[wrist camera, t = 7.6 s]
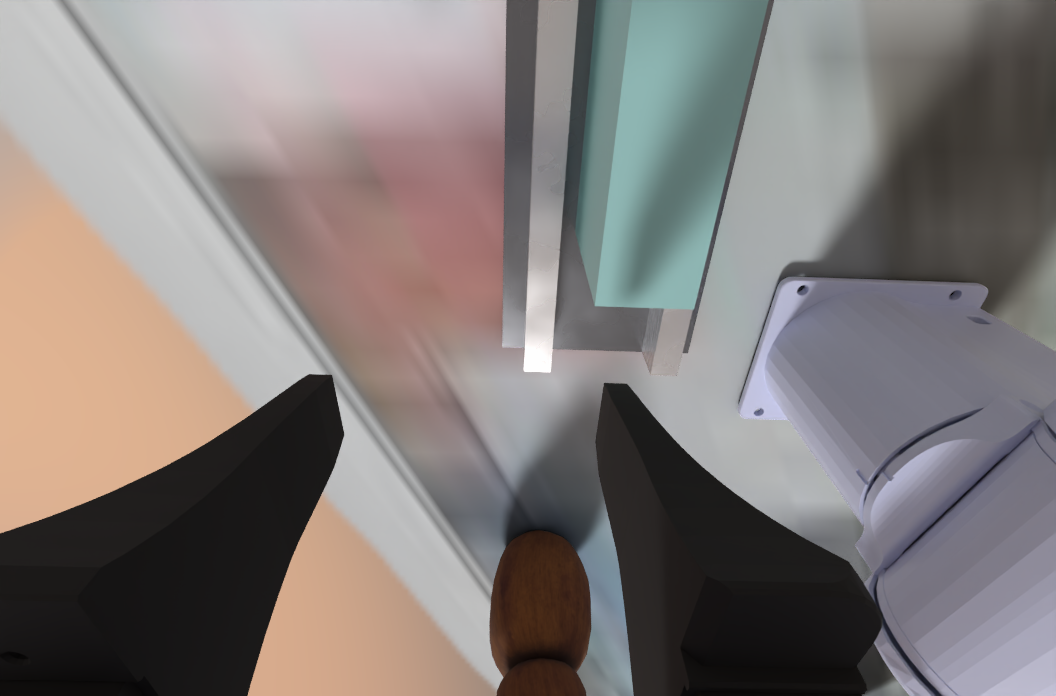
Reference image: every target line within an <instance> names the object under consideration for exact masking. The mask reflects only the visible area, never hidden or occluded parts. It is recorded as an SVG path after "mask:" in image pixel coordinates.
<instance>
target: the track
mask: <svg viewBox="0 0 1056 696" xmlns="http://www.w3.org/2000/svg"><path fill="white" fill-rule="evenodd" d="M773 3H774V0H769V1H768V5H767V9H766V13H765V18H764V22H763V26H762V30H761V34H760V38H759V42H758V47H757V51H756V55H755V59H754V63H753V67H752V71H751V76H750V80H749V84H748V88H747V92H746V96H745V100H744V105H743V109H742V113H741V117H740V121H739V125H738V129H737V134H736V138H735V142H734V146H733V150H732V154H731V158H730V163H729V167H728V171H727V175H726V179H725V183H724V187H723V192H722V196H721V200H720V204H719V208H718V212H717V216H716V221H715V225H714V229H713V233H712V237H711V241H710V245H709V250H708V254H707V258H706V262H705V266H704V270H703V274H702V279H701V283H700V287H699V291H698V295H697V299H696V303H695V308H694V310H691V309H662V308H633V307H605V306H595V305H594V302H593V298H592V294H591V290H590V286H589V283H588V279H587V275H586V271H585V267H584V263H583V260H582V256H581V252H580V248H579V244H578V241H577V237H576V233H575V228H576V217H577V206H578V195H579V184H580V173H581V162H582V151H583V140H584V129H585V119H586V108H587V97H588V86H589V75H590V64H591V53H592V42H593V31H594V20H595V10H596V0H507V13H506V94H505V175H504V256H503V338H502V347H508V348H524V371H530V372H551V362H552V349H572V350H604V351H636V352H642V354H643V356H644V359H645V362H646V364H647V367H648V370H649V372H650V375H663V376H677V374H678V370H679V366H680V361H681V357H682V353H688V350H689V346H690V342H691V338H692V334H693V330H694V326H695V321H696V317H697V313H698V309H699V305H700V301H701V297H702V293H703V289H704V285H705V281H706V276H707V272H708V268H709V264H710V260H711V256H712V252H713V248H714V244H715V240H716V236H717V232H718V227H719V223H720V219H721V215H722V211H723V207H724V203H725V199H726V195H727V191H728V187H729V182H730V178H731V174H732V170H733V166H734V162H735V158H736V154H737V150H738V146H739V142H740V137H741V133H742V129H743V125H744V121H745V117H746V113H747V109H748V105H749V101H750V97H751V92H752V88H753V84H754V80H755V76H756V72H757V68H758V64H759V60H760V56H761V52H762V47H763V43H764V39H765V35H766V31H767V27H768V23H769V19H770V15H771V11H772V7H773Z"/></svg>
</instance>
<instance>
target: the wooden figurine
mask: <svg viewBox="0 0 1056 696" xmlns="http://www.w3.org/2000/svg"><path fill="white" fill-rule="evenodd" d="M590 632H591V599H590V590H589V582H588V578H587V575H586V572H585V569H584V566H583V564H582V562H581V560H580V558H579V556H578V554H577V552H576V551H575V549H574V548H573V546H572V545H571V544H570V543H569V542H568V541H567V540H566V539H564V538H563V537H561V536H558V535H556V534H553V533H551V532H547V531H541V530H536V531H530V532H526V533H524V534H522V535H520V536H518V537H517V538H515V539H513V540H512V541H511V542H510V543H509V544H508V546H507V547H506V548H505V550H504V552H503V554H502V556H501V559H500V562H499V565H498V568H497V572H496V576H495V579H494V584H493V590H492V596H491V610H490V644H491V650H492V656H493V658H494V661H495V663H496V666H497V668H498V669H499V671H500V672H501V674H502V676H503V677H504V678H503V680H502V681H501V683H500V686H499V688H498V690H497V696H586V690H585V688H584V686H583V684H582V682H581V680H580V678H579V676H578V674H577V673H576V672H577V671H578V669H579V668H580V666H581V664H582V662H583V660H584V658H585V656H586V655H587V650H588V644H589V638H590Z"/></svg>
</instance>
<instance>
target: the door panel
mask: <svg viewBox="0 0 1056 696" xmlns="http://www.w3.org/2000/svg"><path fill="white" fill-rule="evenodd" d="M768 1H769V0H596V10H595V20H594V31H593V42H592V53H591V64H590V75H589V86H588V97H587V108H586V119H585V129H584V140H583V151H582V162H581V173H580V184H579V195H578V206H577V217H576V228H575V233H576V237H577V241H578V244H579V248H580V252H581V256H582V260H583V263H584V267H585V271H586V275H587V279H588V283H589V286H590V290H591V294H592V298H593V302H594V305H595V306H605V307H633V308H662V309H691V310H694V308H695V303H696V299H697V295H698V291H699V287H700V283H701V279H702V274H703V270H704V266H705V262H706V258H707V254H708V250H709V245H710V241H711V237H712V233H713V229H714V225H715V221H716V216H717V212H718V208H719V204H720V200H721V196H722V192H723V187H724V183H725V179H726V175H727V171H728V167H729V163H730V158H731V154H732V150H733V146H734V142H735V138H736V134H737V129H738V125H739V121H740V117H741V113H742V109H743V105H744V100H745V96H746V92H747V88H748V84H749V80H750V76H751V71H752V67H753V63H754V59H755V55H756V51H757V47H758V42H759V38H760V34H761V30H762V26H763V22H764V18H765V13H766V9H767V5H768Z"/></svg>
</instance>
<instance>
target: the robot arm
mask: <svg viewBox="0 0 1056 696" xmlns="http://www.w3.org/2000/svg"><path fill="white" fill-rule="evenodd" d="M802 285H805V287H804V289H803V290H801V291H800V292H797V290H798V288H799V287H800V286H802ZM954 291H955V292H954ZM952 292H954V293H953V295H951V296H950V294H951V293H952ZM987 295H988V289H987V288H986V287H985V286H983V285H981V284H979V283H962V282H933V281H905V280H876V279H847V278H818V277H787V278H785V279H783V280H782V281H781V282H780V283H779V285H778V287H777V290H776V293H775V296H774V299H773V302H772V305H771V308H770V311H769V314H768V317H767V320H766V323H765V326H764V329H763V332H762V335H761V338H760V342H759V345H758V348H757V351H756V354H755V357H754V360H753V363H752V366H751V369H750V372H749V375H748V378H747V381H746V384H745V387H744V390H743V393H742V396H741V399H740V402H739V405H738V412H739V414H740V416H741V417H742V418H745V419H771V420H789V422H790V423H791V424H792V426H793V427H794V429H795V430H796V431H797V433H798V434H799V436H800V437H801V439H802V440H803V441H804V443H805V444H806V446H807V447H808V449H809V450H810V451H811V453H812V454H813V456H814V457H815V458H816V460H817V461H818V463H819V464H820V466H821V467H822V468H823V470H824V471H825V473H826V474H827V476H828V477H829V478H830V480H831V481H832V483H833V484H834V485H835V487H836V488H837V490H838V491H839V493H840V494H841V495H842V497H843V498H844V500H845V501H846V503H847V504H848V505H849V507H850V508H851V510H852V511H853V512H854V514H855V515H856V517H857V518H858V520H859V521H860V522H861V524H862V525H863V527H864V531H863V534H862V536H861V538H860V539H859V540H858V542H857V543H856V545H855V546H856V548H857V549H858V551H859V553H860V554H861V556H862V557H863V559H864V560H865V562H866V563H867V565H868V566H869V568H870V569H871V571H872V572H873V574H872V575H871V576H870V577H869V578H868V579H867V580H866V582H865V583H863V582H862V580H861V579H860V577H859V576H858V574H857V573H856V571H855V570H854V569H853V567H852V566H851V565H850V563H849V562H848V561H846V560H844V559H842V558H841V557H839V556H837V555H835V554H833V553H831V552H829V551H827V550H825V549H823V548H822V547H820V546H818V545H816V544H814V543H812V542H810V541H808V540H806V539H805V538H803V537H801V536H799V535H798V534H796V533H794V532H793V531H791V530H789V529H788V528H786V527H784V526H783V525H781V524H779V523H778V522H776V521H774V520H773V519H771V518H770V517H768V516H767V515H765V514H764V513H762V512H761V511H759V510H758V509H756V508H755V507H753V506H752V505H750V504H749V503H748V502H746V501H745V500H743V499H742V498H741V497H739V496H738V495H736V494H735V493H734V492H732V491H731V490H730V489H729V488H727V487H726V486H725V485H723V484H722V483H721V482H720V481H718V480H717V479H716V478H715V477H714V476H713V475H711V474H710V473H709V472H708V471H707V470H705V469H704V468H703V467H702V466H701V465H700V464H699V463H697V462H696V461H695V460H694V459H693V458H692V457H691V456H690V455H689V454H688V453H687V452H686V451H685V450H684V449H683V448H682V447H681V446H680V445H679V444H678V443H677V442H676V441H675V440H674V439H673V438H672V437H671V436H670V434H669V433H668V432H667V431H666V430H665V429H664V428H663V427H662V426H661V424H660V423H659V422H658V421H657V420H656V419H655V417H654V416H653V415H652V414H651V413H650V411H649V410H648V409H647V408H646V407H645V405H644V404H643V403H642V402H641V400H640V399H639V398H638V397H637V395H636V394H635V393H634V392H633V390H632V389H631V388H630V387H629V386H628V385H627V384H615V383H604V387H603V394H602V401H601V408H600V415H599V422H598V429H597V435H596V450H597V461H598V470H599V477H600V482H601V486H602V490H603V495H604V499H605V504H606V508H607V512H608V516H609V521H610V525H611V529H612V533H613V538H614V542H615V546H616V551H617V556H618V562H619V568H620V575H621V583H622V591H623V599H624V607H625V616H626V625H627V633H628V642H629V652H630V662H631V672H632V682H633V692H634V696H862V695H861V694H864V693H865V692H866V691H867V688H866V683H865V681H864V680H863V678H862V676H861V674H860V672H859V670H858V668H857V664H858V663H859V662H860V660H861V659H862V658H863V656H864V655H865V654H866V652H867V651H868V650H869V648H870V647H871V646H872V644H873V643H874V644H875V646H876V648H877V649H878V651H879V653H880V654H881V656H882V658H883V660H884V661H885V663H886V665H887V666H888V668H889V669H890V671H891V672H892V674H893V675H894V676H895V678H896V679H897V681H898V682H899V683H900V684H901V686H902V687H903V688H904V689H905V691H906V692H907V693H908V694H909V695H910V696H1056V351H1054V350H1052V349H1051V348H1049V347H1047V346H1045V345H1044V344H1042V343H1040V342H1038V341H1037V340H1035V339H1033V338H1031V337H1030V336H1028V335H1026V334H1024V333H1023V332H1021V331H1019V330H1017V329H1016V328H1014V327H1012V326H1010V325H1009V324H1007V323H1005V322H1003V321H1002V320H1000V319H998V318H996V317H995V316H993V315H991V314H989V313H988V312H986V311H984V310H982V309H981V308H980V307H981V306H982V304H983V302H984V300H985V299H986V297H987ZM759 408H760V410H758V411H755V410H756V409H759ZM343 437H344V431H343V426H342V421H341V416H340V412H339V407H338V402H337V397H336V392H335V387H334V382H333V378H332V375H313V374H309V375H307V376H305V377H304V378H302V379H301V380H299V381H298V382H296V383H295V384H293V385H292V386H291V387H289V388H288V389H286V390H285V391H284V392H282V393H281V394H279V395H278V396H277V397H275V398H274V399H272V400H271V401H270V402H268V403H267V404H265V405H264V406H262V407H261V408H260V409H258V410H257V411H255V412H254V413H252V414H251V415H250V416H248V417H247V418H245V419H244V420H242V421H241V422H239V423H238V424H236V425H235V426H233V427H232V428H230V429H228V430H227V431H225V432H224V433H222V434H221V435H219V436H217V437H216V438H214V439H213V440H211V441H210V442H208V443H206V444H205V445H203V446H201V447H200V448H198V449H196V450H194V451H193V452H191V453H189V454H187V455H186V456H184V457H182V458H180V459H178V460H176V461H174V462H173V463H171V464H169V465H167V466H165V467H163V468H161V469H159V470H157V471H155V472H153V473H151V474H149V475H147V476H144V477H142V478H140V479H138V480H136V481H134V482H132V483H130V484H127V485H125V486H124V487H121V488H119V489H117V490H115V491H113V492H110V493H108V494H106V495H103V496H101V497H98V498H96V499H93V500H91V501H89V502H86V503H84V504H81V505H79V506H76V507H74V508H71V509H68V510H66V511H63V512H61V513H58V514H55V515H53V516H50V517H47V518H45V519H42V520H39V521H36V522H33V523H30V524H27V525H24V526H22V527H19V528H16V529H13V530H10V531H7V532H4V533H1V534H0V696H247V695H248V691H249V688H250V684H251V681H252V677H253V674H254V671H255V667H256V664H257V660H258V657H259V654H260V651H261V647H262V644H263V641H264V637H265V634H266V631H267V628H268V625H269V622H270V619H271V616H272V613H273V610H274V607H275V604H276V601H277V598H278V595H279V592H280V589H281V586H282V583H283V581H284V578H285V575H286V572H287V569H288V567H289V564H290V561H291V558H292V556H293V554H294V551H295V549H296V546H297V544H298V542H299V540H300V538H301V536H302V533H303V532H304V530H305V527H306V525H307V523H308V521H309V519H310V517H311V515H312V513H313V511H314V509H315V507H316V505H317V503H318V500H319V498H320V496H321V494H322V492H323V490H324V488H325V486H326V484H327V482H328V479H329V477H330V475H331V473H332V471H333V469H334V466H335V463H336V460H337V457H338V454H339V450H340V447H341V444H342V440H343Z"/></svg>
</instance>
